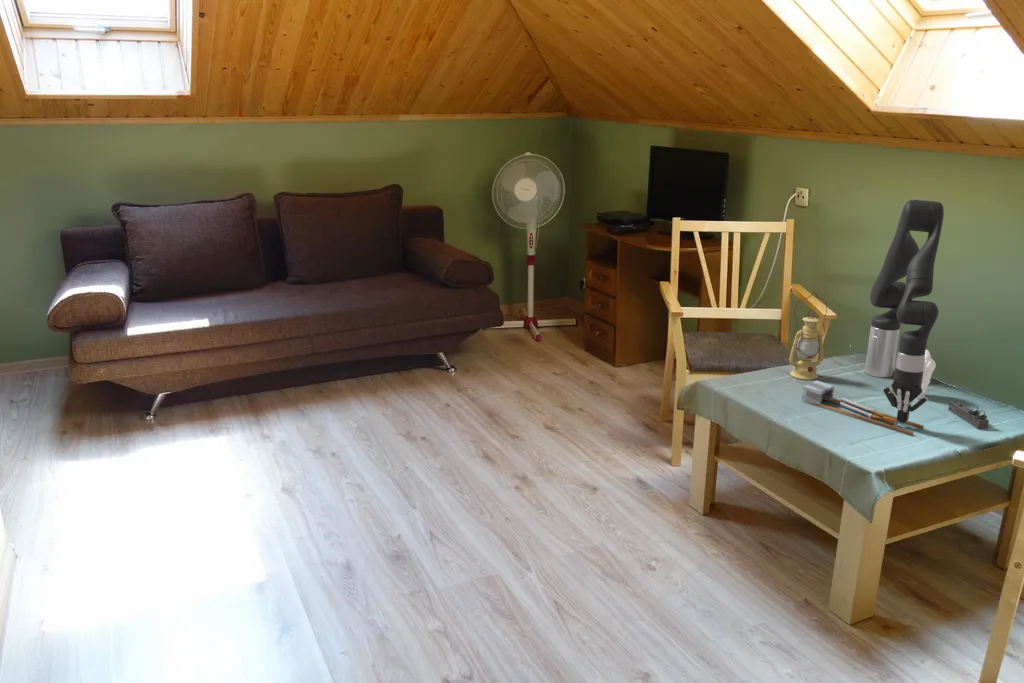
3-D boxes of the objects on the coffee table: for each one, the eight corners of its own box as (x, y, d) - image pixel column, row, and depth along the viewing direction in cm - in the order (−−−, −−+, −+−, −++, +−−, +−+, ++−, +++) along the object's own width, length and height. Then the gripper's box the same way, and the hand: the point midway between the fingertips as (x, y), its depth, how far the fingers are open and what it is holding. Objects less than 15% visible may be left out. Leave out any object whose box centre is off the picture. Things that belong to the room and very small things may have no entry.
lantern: (792, 381, 281) (802, 297, 272) (782, 371, 291) (791, 289, 281) (826, 380, 282) (837, 296, 272) (815, 370, 291) (825, 289, 282)
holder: (814, 395, 269) (816, 380, 267) (923, 428, 244) (926, 412, 242) (801, 401, 264) (803, 386, 262) (911, 435, 239) (914, 419, 237)
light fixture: (957, 410, 258) (960, 394, 256) (987, 429, 244) (990, 412, 242) (947, 410, 258) (950, 394, 256) (976, 430, 243) (980, 412, 242)
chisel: (899, 419, 245) (894, 417, 244) (895, 428, 246) (890, 426, 244) (847, 399, 261) (842, 397, 260) (843, 407, 262) (838, 405, 260)
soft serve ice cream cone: (905, 398, 266) (912, 352, 261) (900, 389, 274) (907, 344, 269) (933, 401, 264) (941, 354, 259) (927, 391, 272) (934, 346, 267)
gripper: (938, 369, 237) (930, 425, 242) (892, 359, 246) (885, 412, 251) (927, 375, 232) (919, 431, 237) (881, 364, 242) (874, 419, 247)
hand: (901, 421), depth 244 cm, fingers closed
